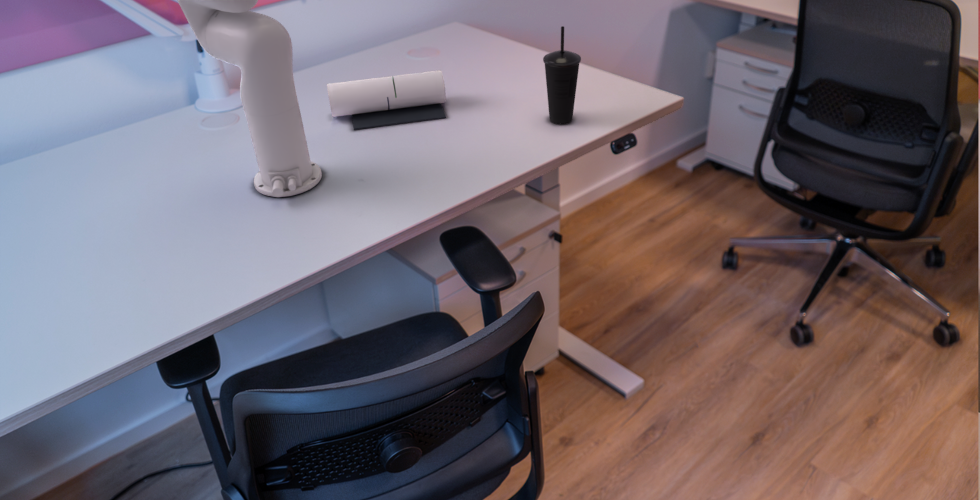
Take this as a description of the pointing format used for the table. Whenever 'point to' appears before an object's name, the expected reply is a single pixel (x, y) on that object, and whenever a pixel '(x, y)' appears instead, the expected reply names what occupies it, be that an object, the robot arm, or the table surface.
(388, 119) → the desk mat
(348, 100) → the cylindrical container
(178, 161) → the table surface
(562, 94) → the drinking cup
